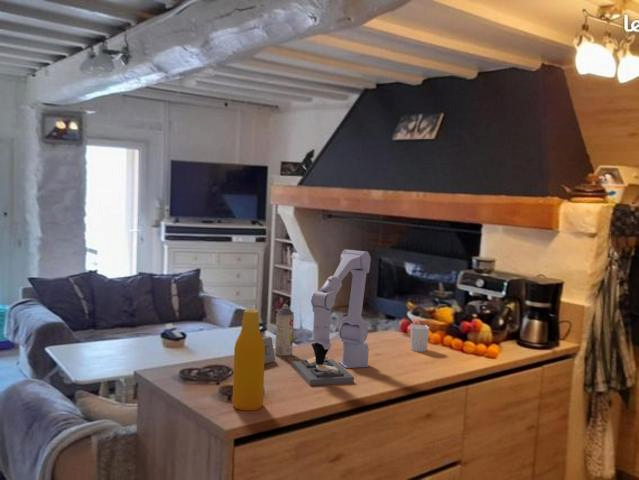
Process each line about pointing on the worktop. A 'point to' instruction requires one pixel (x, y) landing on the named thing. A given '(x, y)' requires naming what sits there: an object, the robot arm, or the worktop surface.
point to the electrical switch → (269, 350)
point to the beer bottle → (249, 364)
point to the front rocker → (327, 368)
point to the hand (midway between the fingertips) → (319, 364)
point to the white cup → (419, 337)
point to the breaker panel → (322, 373)
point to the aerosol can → (284, 332)
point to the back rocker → (314, 360)
